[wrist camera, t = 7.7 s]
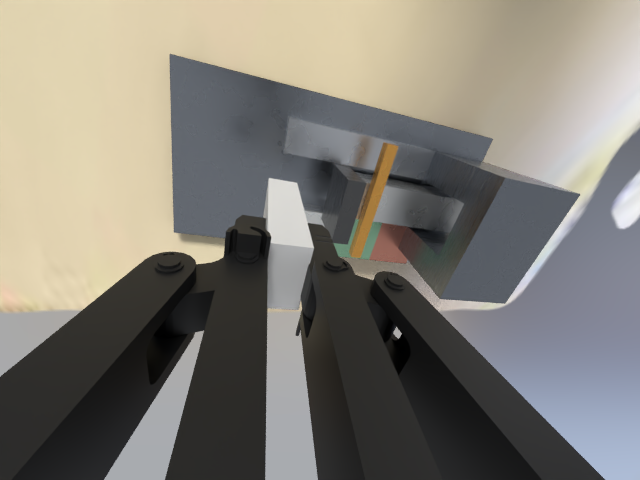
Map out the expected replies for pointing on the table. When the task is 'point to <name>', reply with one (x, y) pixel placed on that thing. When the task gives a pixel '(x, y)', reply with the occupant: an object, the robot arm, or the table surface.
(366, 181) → the orange-striped grey block
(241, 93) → the gauge base
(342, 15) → the table surface
